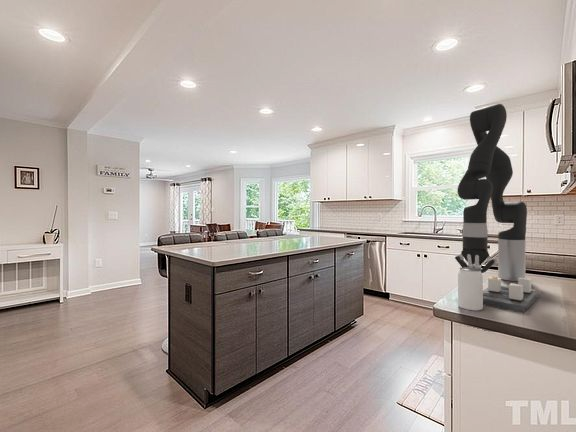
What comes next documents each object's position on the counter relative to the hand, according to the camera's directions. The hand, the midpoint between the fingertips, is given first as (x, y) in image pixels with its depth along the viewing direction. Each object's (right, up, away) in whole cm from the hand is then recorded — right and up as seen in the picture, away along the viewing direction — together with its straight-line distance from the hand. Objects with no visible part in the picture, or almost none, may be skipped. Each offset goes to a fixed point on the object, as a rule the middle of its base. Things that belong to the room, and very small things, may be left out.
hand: (474, 283), depth 104 cm
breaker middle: (+4, -1, -4) cm, 6 cm away
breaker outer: (+4, -1, -14) cm, 14 cm away
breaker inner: (+13, -1, -6) cm, 14 cm away
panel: (+6, -4, -7) cm, 10 cm away
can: (-11, -4, -15) cm, 19 cm away
